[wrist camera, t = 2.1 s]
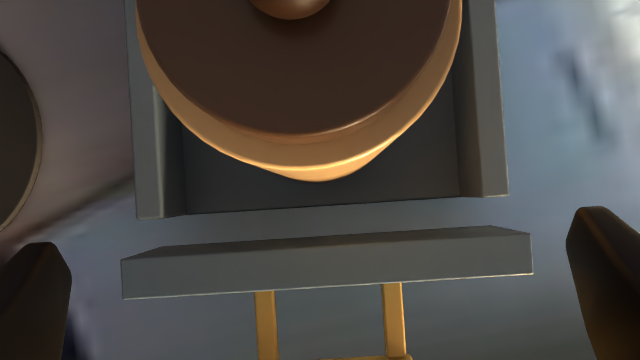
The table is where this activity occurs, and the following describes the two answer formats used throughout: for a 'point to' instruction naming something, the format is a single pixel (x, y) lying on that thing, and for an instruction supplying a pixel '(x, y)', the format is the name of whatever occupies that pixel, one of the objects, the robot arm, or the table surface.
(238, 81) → the pepper mill
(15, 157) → the coaster
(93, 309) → the table surface
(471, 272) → the drawer
